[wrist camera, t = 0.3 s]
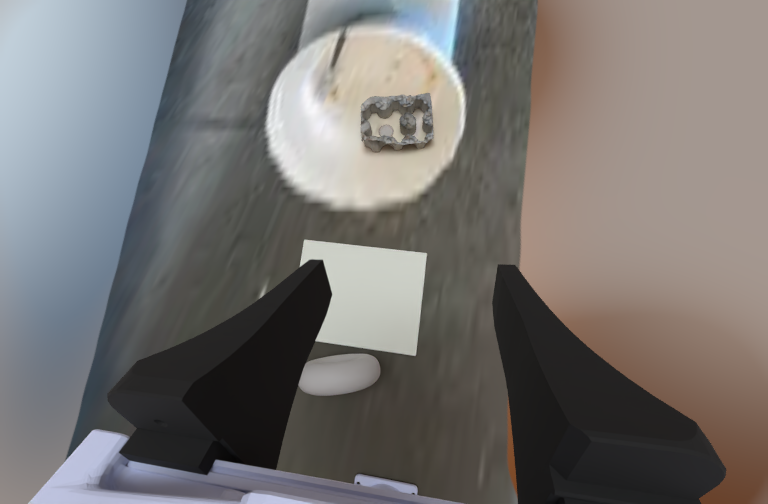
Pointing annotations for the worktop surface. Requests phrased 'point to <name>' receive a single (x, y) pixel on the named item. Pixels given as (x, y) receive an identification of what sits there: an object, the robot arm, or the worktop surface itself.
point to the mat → (371, 295)
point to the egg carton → (407, 120)
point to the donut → (339, 374)
